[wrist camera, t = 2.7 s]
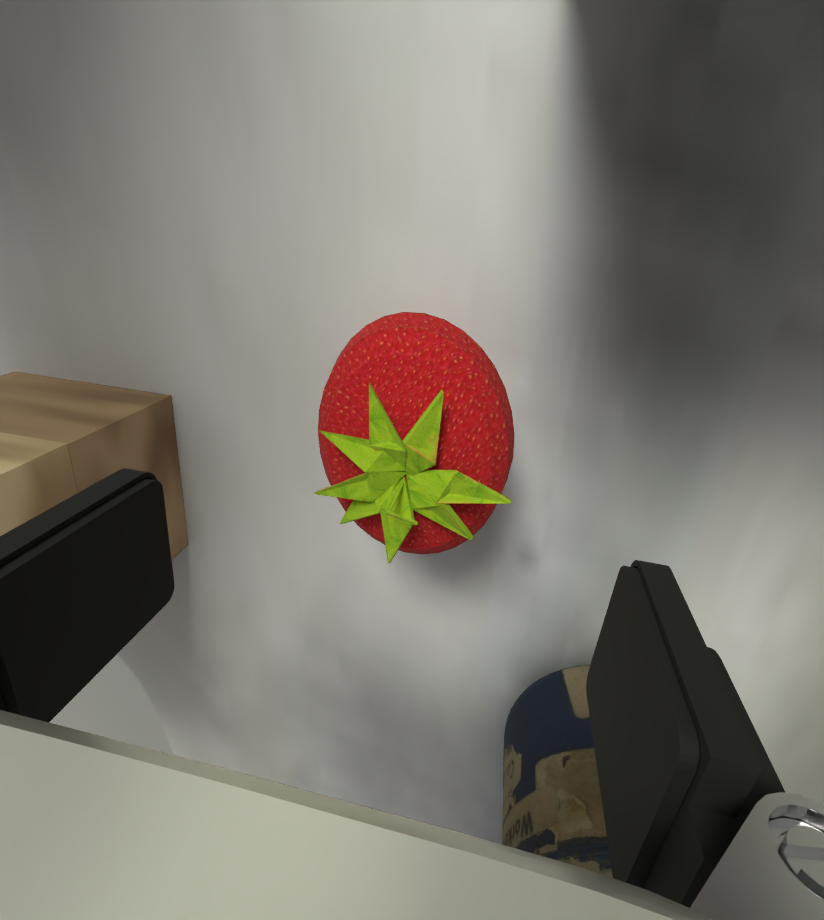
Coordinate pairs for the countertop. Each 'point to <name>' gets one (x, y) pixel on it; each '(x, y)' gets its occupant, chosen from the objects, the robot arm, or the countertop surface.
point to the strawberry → (415, 434)
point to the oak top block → (32, 478)
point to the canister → (554, 775)
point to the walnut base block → (101, 433)
